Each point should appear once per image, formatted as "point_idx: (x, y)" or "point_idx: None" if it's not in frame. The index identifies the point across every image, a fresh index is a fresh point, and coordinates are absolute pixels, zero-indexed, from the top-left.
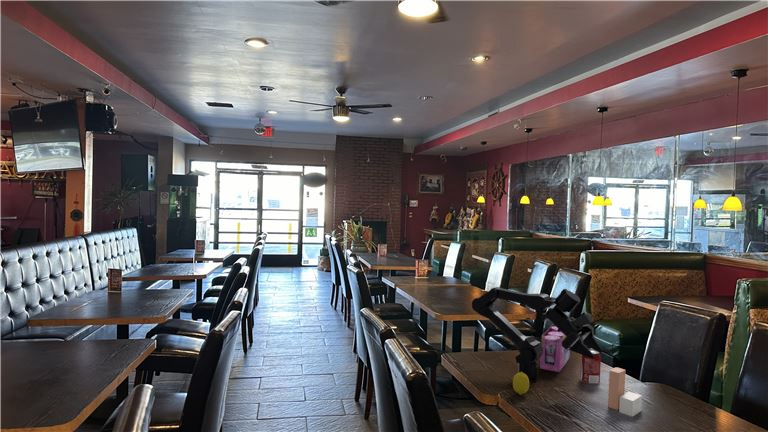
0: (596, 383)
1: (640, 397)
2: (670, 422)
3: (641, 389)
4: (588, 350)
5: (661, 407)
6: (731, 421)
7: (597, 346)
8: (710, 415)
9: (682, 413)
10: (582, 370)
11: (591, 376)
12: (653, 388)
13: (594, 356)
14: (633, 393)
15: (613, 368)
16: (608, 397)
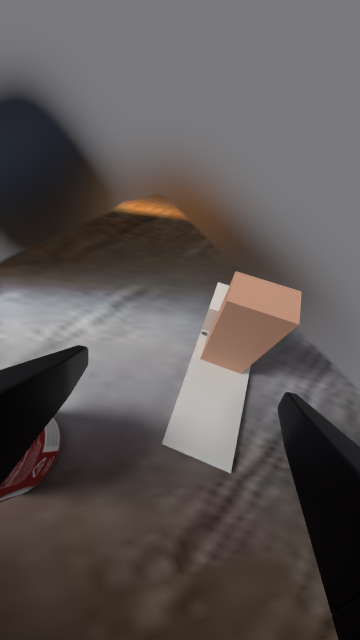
0: (55, 419)
1: (227, 287)
2: (224, 268)
3: (46, 302)
4: (355, 446)
5: (153, 274)
6: (158, 204)
7: (54, 378)
8: (148, 219)
9: (165, 249)
10: (8, 494)
11: (47, 440)
12: (29, 279)
13: (289, 392)
14: (217, 298)
15: (256, 309)
16: (250, 365)
